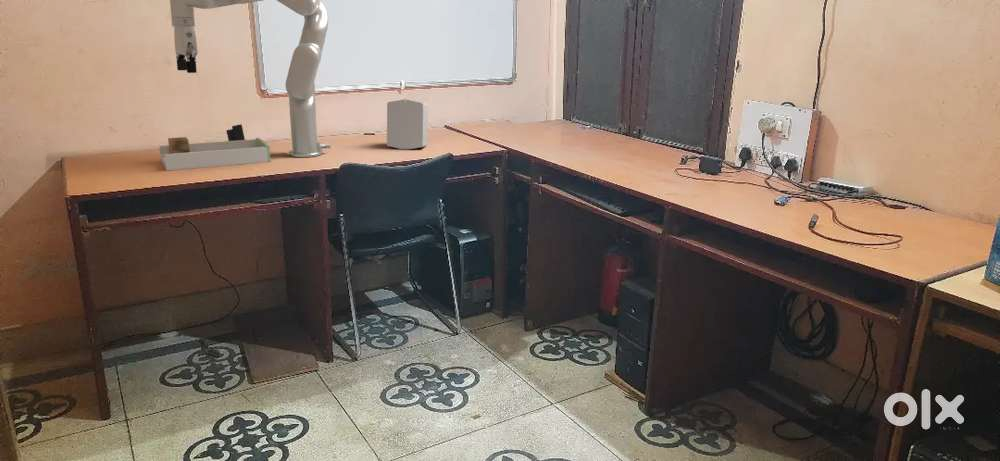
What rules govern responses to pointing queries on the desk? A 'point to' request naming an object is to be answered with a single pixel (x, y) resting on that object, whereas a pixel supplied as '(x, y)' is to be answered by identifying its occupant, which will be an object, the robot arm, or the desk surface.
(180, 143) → the block
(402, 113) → the grey upright faceted block
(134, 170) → the desk surface
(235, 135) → the speaker
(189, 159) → the shallow grey tray
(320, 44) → the robot arm
